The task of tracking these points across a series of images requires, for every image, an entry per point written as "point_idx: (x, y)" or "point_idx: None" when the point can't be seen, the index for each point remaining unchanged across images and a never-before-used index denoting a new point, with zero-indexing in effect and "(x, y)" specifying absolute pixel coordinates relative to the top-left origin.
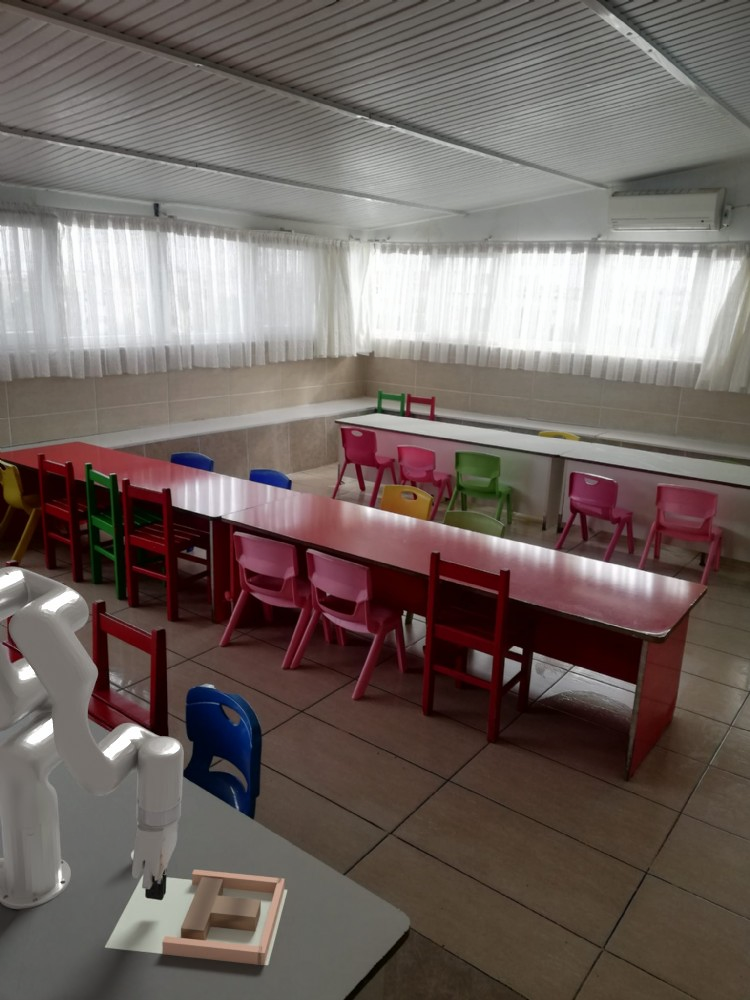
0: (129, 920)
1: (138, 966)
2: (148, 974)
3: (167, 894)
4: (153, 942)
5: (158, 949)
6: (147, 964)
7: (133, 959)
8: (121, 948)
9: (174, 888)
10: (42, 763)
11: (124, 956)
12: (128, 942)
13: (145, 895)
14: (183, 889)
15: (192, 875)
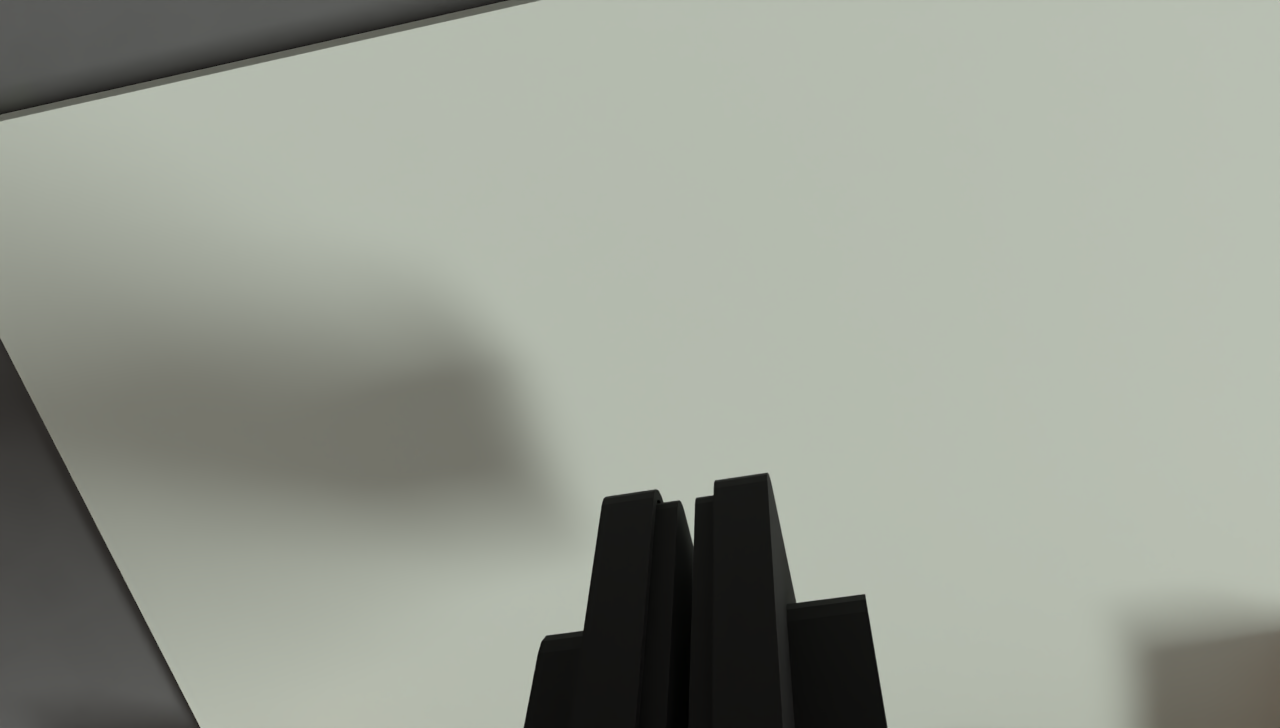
0: (434, 191)
1: (12, 590)
2: (3, 708)
3: (1055, 425)
4: (286, 628)
5: (240, 707)
6: (83, 652)
7: (46, 505)
8: (21, 353)
9: (1191, 458)
10: None
11: (17, 399)
12: (132, 384)
13: (600, 518)
14: (1192, 567)
15: None
